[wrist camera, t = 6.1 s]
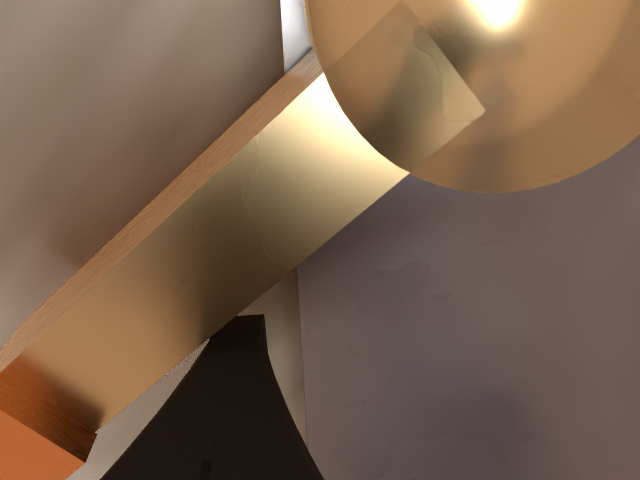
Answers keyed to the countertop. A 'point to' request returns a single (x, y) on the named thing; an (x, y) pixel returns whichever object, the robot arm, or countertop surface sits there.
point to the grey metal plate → (476, 328)
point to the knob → (318, 187)
